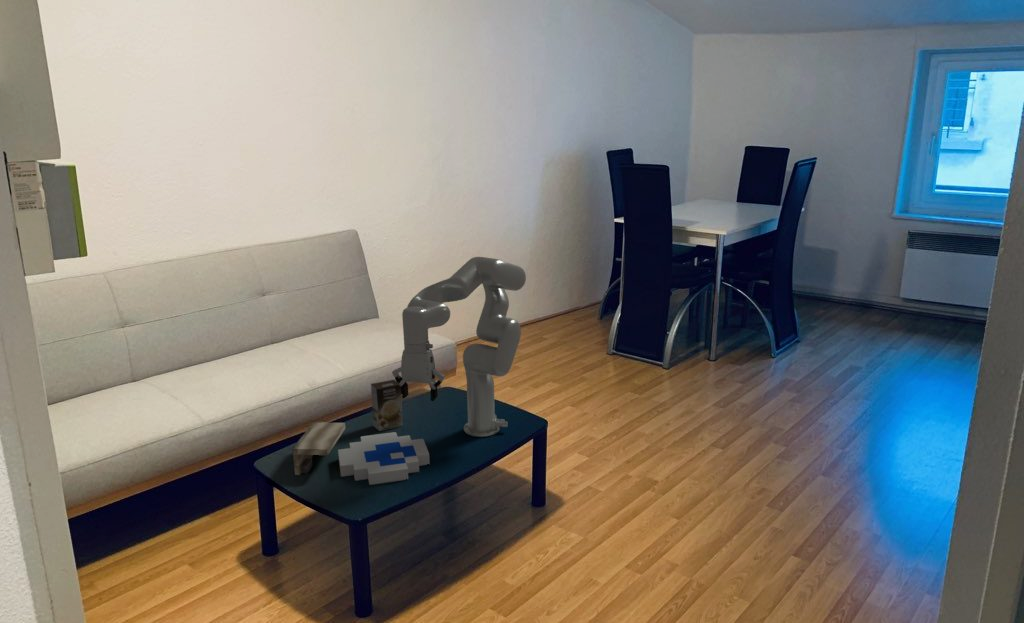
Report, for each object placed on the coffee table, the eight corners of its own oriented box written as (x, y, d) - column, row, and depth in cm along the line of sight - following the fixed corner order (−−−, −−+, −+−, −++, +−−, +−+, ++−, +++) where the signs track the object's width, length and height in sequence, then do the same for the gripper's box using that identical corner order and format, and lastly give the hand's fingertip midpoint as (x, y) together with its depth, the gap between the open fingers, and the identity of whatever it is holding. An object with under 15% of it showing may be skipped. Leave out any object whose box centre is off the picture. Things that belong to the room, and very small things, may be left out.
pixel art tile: (419, 429, 270) (433, 465, 244) (419, 439, 271) (434, 476, 245) (336, 439, 263) (341, 477, 237) (337, 450, 264) (342, 489, 238)
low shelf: (347, 447, 265) (345, 422, 263) (329, 475, 246) (327, 449, 244) (315, 446, 266) (312, 422, 264) (295, 474, 247) (292, 448, 245)
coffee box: (379, 431, 277) (376, 389, 273) (372, 425, 282) (369, 383, 278) (403, 426, 282) (401, 384, 277) (396, 419, 287) (394, 378, 282)
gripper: (447, 344, 243) (449, 396, 248) (396, 340, 248) (399, 391, 253) (438, 352, 236) (440, 405, 241) (385, 348, 241) (389, 400, 246)
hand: (419, 398), depth 247 cm, fingers open, 9 cm apart
